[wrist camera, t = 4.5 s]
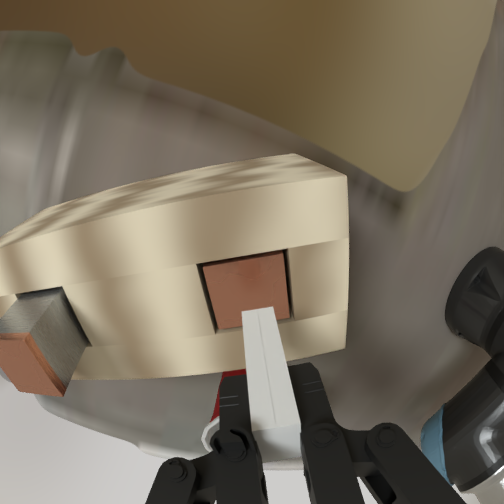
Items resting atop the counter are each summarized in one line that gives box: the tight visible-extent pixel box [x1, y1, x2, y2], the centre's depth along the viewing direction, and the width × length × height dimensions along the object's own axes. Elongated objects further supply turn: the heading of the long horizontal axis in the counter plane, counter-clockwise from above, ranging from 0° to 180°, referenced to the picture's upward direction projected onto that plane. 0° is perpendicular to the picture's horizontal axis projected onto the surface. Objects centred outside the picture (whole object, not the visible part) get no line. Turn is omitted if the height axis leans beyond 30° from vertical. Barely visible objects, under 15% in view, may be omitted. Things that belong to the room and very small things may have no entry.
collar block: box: [0, 154, 349, 380], centre depth 22 cm, size 26×12×12 cm, turn 98°
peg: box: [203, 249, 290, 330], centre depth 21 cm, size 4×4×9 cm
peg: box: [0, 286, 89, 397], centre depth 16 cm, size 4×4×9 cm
